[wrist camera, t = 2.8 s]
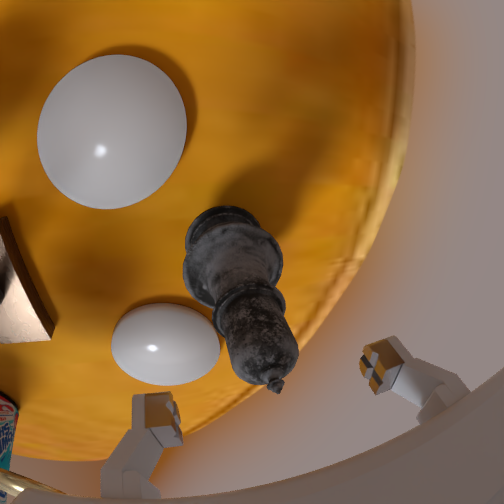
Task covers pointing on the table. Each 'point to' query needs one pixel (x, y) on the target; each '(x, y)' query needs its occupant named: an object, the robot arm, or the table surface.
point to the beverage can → (6, 434)
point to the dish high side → (165, 344)
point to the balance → (19, 326)
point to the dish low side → (111, 131)
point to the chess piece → (242, 292)
